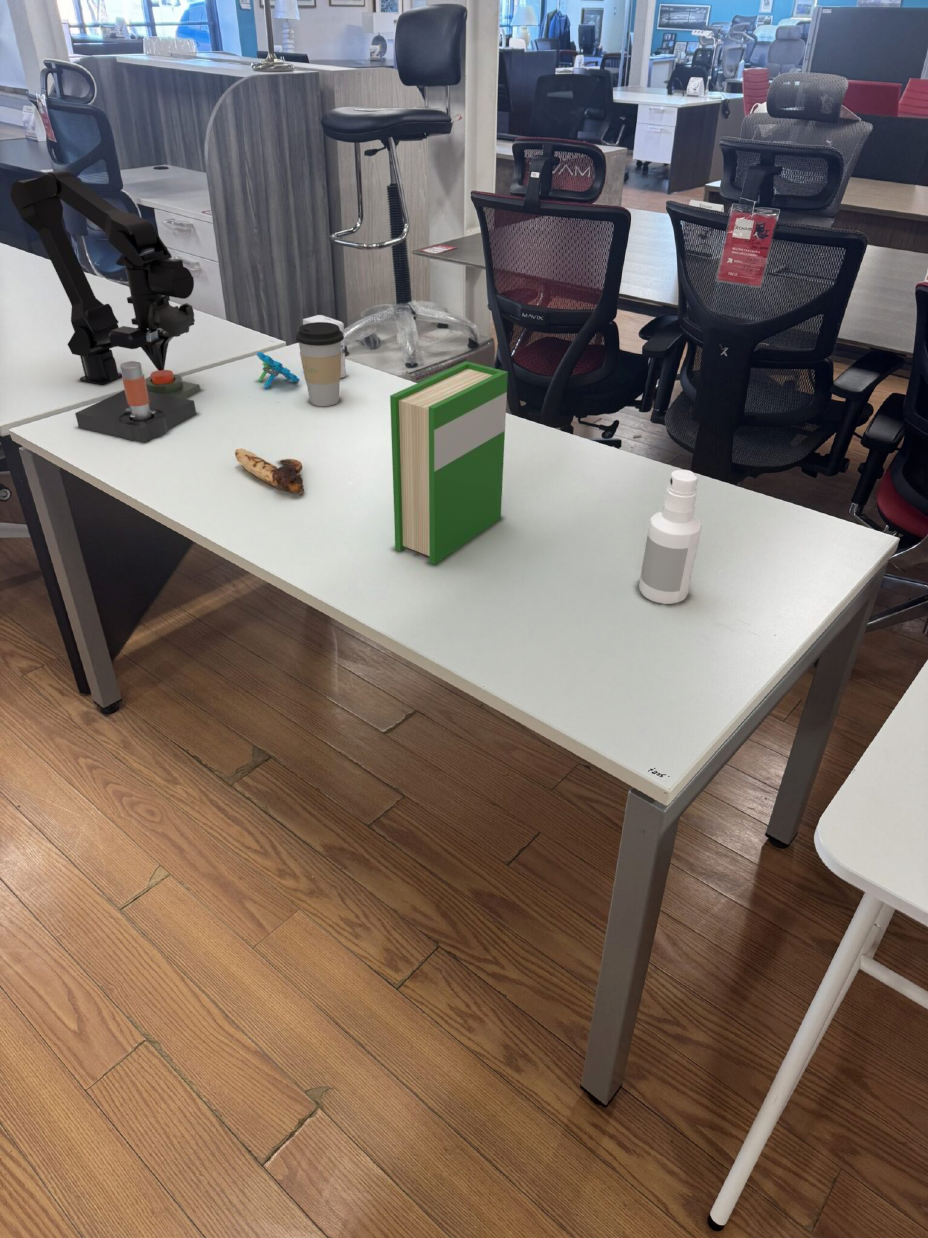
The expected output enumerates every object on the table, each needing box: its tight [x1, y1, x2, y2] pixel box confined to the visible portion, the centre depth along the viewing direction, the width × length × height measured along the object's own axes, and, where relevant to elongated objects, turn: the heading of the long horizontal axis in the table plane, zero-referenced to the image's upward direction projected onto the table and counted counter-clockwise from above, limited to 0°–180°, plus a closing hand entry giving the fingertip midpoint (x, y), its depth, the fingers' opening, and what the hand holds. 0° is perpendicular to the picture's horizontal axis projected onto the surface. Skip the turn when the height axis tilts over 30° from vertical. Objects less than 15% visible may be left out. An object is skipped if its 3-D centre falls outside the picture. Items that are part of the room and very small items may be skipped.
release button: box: [150, 369, 174, 384], centre depth 175 cm, size 4×4×2 cm
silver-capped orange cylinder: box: [119, 360, 155, 422], centre depth 157 cm, size 6×6×13 cm
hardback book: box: [389, 360, 509, 566], centre depth 125 cm, size 18×7×24 cm, turn 145°
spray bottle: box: [638, 469, 703, 605], centre depth 114 cm, size 7×7×18 cm
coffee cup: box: [295, 322, 345, 407], centre depth 171 cm, size 9×9×15 cm
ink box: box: [302, 314, 347, 379], centre depth 185 cm, size 9×5×12 cm, turn 47°
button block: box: [145, 373, 201, 399], centre depth 176 cm, size 11×9×3 cm
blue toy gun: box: [256, 351, 300, 389], centre depth 181 cm, size 11×6×10 cm
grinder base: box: [74, 389, 197, 443], centre depth 164 cm, size 17×15×3 cm
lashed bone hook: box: [234, 448, 305, 495], centre depth 145 cm, size 9×5×18 cm
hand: (160, 369), depth 174 cm, fingers closed
